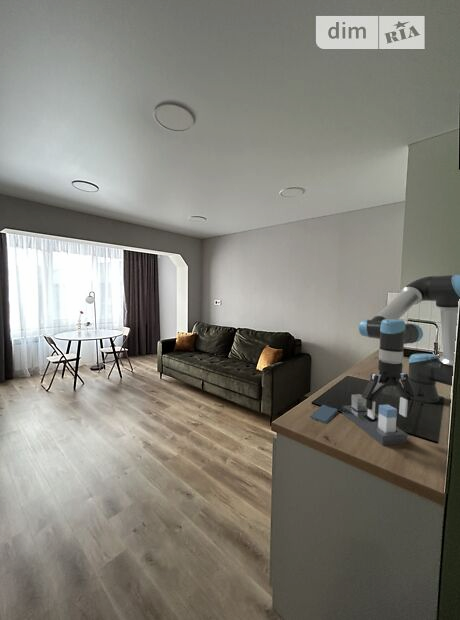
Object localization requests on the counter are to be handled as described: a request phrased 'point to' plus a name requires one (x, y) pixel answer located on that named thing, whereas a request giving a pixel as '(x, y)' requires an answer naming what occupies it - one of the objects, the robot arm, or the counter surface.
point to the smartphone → (324, 414)
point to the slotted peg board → (371, 422)
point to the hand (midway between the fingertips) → (387, 416)
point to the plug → (387, 418)
